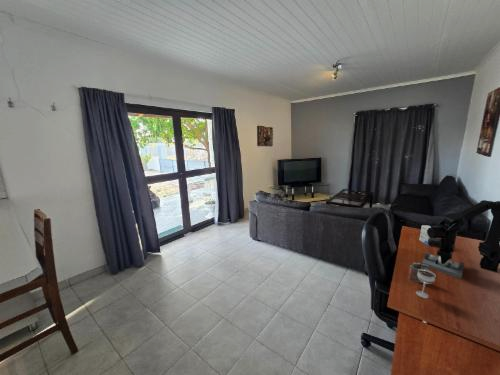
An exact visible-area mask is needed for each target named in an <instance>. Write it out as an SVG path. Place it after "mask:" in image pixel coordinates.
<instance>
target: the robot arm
mask: <svg viewBox="0 0 500 375" xmlns="http://www.w3.org/2000/svg"><path fill="white" fill-rule="evenodd" d="M489 210H490V213H491V216H492V220H491V223H490V227H489V230H488V233H487V236H486V239H485V240H484V241H480V242H478V247H477V248H478V252H479V255H481V256H482V257H480V261H479V267H480V268H481V269H483V270H487V271H489V272H490V271H491V272H493V273H498V269H499V265H500V200H497V201H493V200H486V199H483V200H480V201H479V202H478V203H476V204H474V205H473V206H470V207H468V208H466V209H465V210H462V211H460V212H457V213H456V212H455V213H451V214H448V215H445V216H444V217H443V218H442V220H440V221H439V222H438V223H437V224H436V225H431V226H430V227H431V228H428V230H427V234H428V236H429V237H430V239H428V244H429V247H438V249H437V251H436V255H435V256H437V257H439V256H441V263H442V264H445V263H446V262H447V261H448V260H451V259H453V254H454V249H455V247H456V240H457V235H458V232H460V233H462V232H463V230H462V229H461V228H462V227H463V226H465V224H466V223H467V221H469V220H471V219H473V218H475V217H477V216H479V215H481V214H483V213H485V212H488V211H489Z"/></svg>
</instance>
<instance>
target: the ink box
mask: <svg viewBox="0 0 500 375" xmlns="http://www.w3.org/2000/svg"><path fill="white" fill-rule="evenodd" d="M428 228H431V226H430V225H425V224H424V225H421V228H420V234H419V239H418V240H419V241H420V242H421V243H423V244H425V245H427V246H429V244H428V239H430V237H429V236H428V234H427V230H428ZM429 247H430V246H429Z"/></svg>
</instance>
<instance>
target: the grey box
mask: <svg viewBox="0 0 500 375" xmlns="http://www.w3.org/2000/svg"><path fill="white" fill-rule="evenodd" d="M418 269H426V270H429V271H430V268H428V265H425V264H422V263H421V262H412V264H410V265H409V271H408V275H407V276H408V277H407V279H408V280H409V281H413V282H416V283H421V284H423V282H421V281H420V280H419V279H418V277H417V273H418Z"/></svg>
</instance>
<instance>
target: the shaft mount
mask: <svg viewBox="0 0 500 375" xmlns="http://www.w3.org/2000/svg"><path fill="white" fill-rule="evenodd" d="M438 259H439V256H438V255H433V254H431V253H430V252H428V251H426V252H425V254H424V257H423V260H422V263H421V264H425V265H428V268H427V269H432V270H434V271H438V272H439V273H440V272H441V273H443V274H445V275H449V276H452V277H454V278H458V279H460V280H461V279H462V277H463V272H464V267H465V263H464V262H462V261H460V262H456V261H452V260H451V259H449V262H448V266H447V267H444V266H441V265H438Z"/></svg>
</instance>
